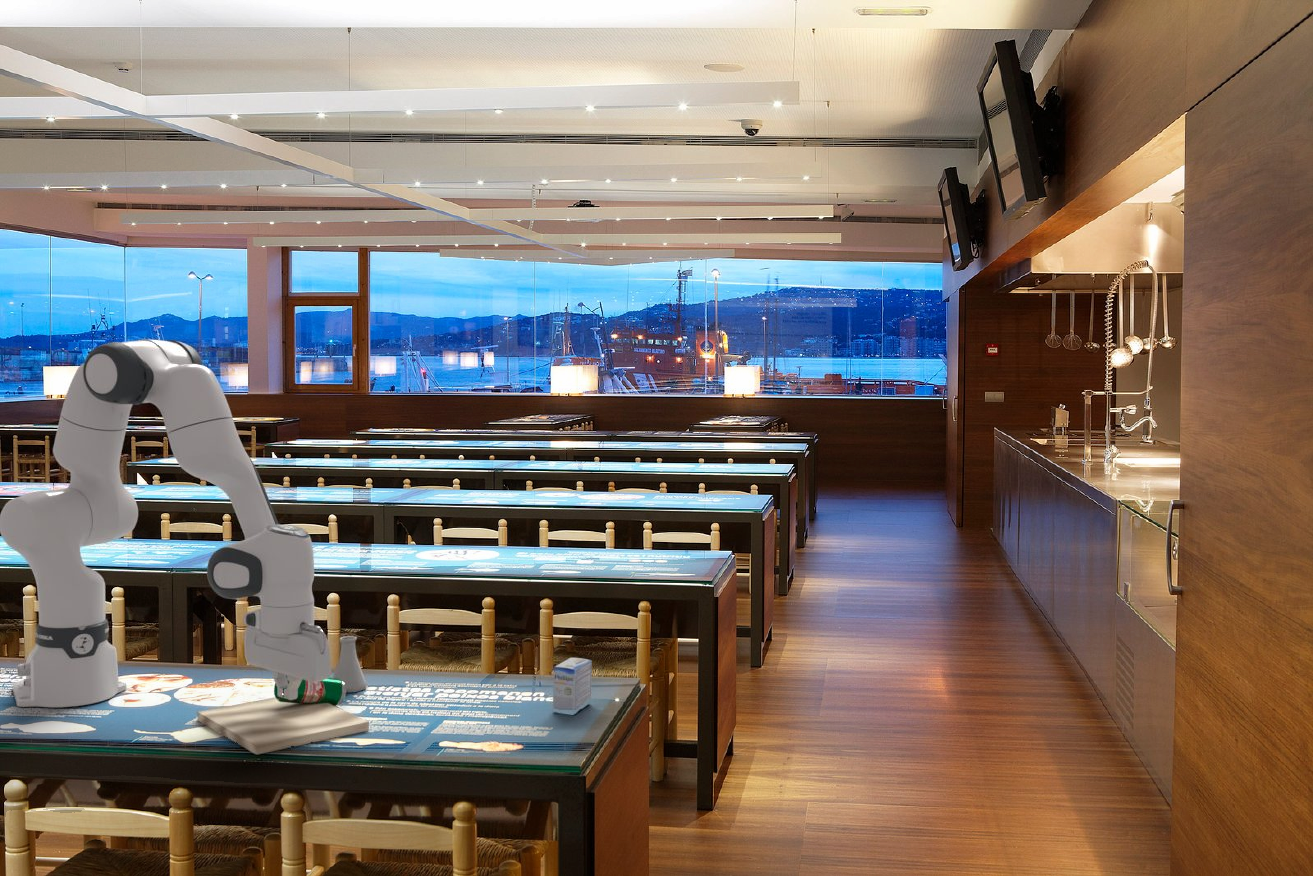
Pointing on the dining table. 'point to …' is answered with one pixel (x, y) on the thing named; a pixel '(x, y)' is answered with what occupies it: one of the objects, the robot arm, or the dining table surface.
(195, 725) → the dining table surface
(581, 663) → the medicine box
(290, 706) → the birch board
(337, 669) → the flask
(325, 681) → the soda can
